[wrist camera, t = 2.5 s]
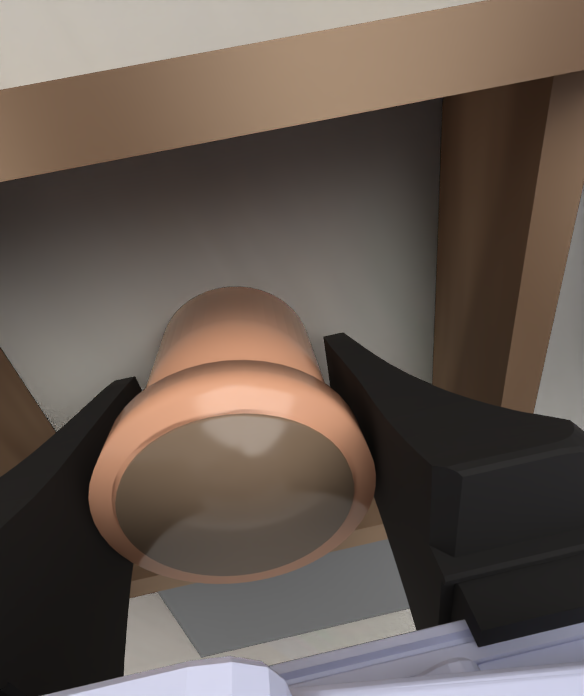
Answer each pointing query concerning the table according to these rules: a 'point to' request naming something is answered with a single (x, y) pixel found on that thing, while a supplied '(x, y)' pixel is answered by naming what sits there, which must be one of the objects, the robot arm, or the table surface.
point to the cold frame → (351, 98)
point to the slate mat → (290, 600)
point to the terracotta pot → (232, 450)
